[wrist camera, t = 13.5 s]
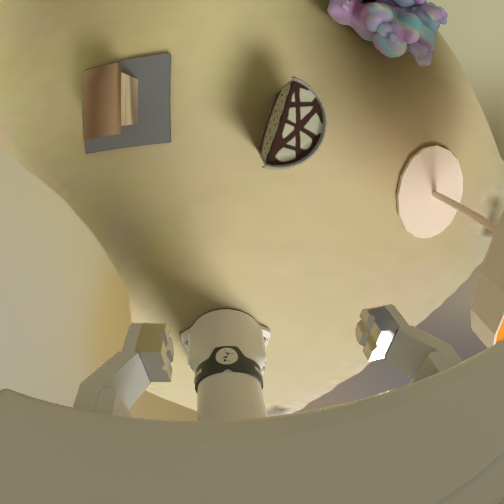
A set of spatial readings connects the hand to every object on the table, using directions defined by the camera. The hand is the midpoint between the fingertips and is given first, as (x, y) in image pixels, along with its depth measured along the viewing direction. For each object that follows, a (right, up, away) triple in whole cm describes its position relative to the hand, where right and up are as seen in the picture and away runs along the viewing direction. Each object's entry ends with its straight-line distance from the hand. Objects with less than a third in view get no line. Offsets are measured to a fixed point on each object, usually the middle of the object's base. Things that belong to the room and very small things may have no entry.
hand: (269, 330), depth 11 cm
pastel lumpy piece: (+19, +44, +17) cm, 51 cm away
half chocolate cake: (+4, +22, +27) cm, 35 cm away
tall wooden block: (-19, +25, +21) cm, 38 cm away
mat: (-19, +25, +22) cm, 39 cm away
